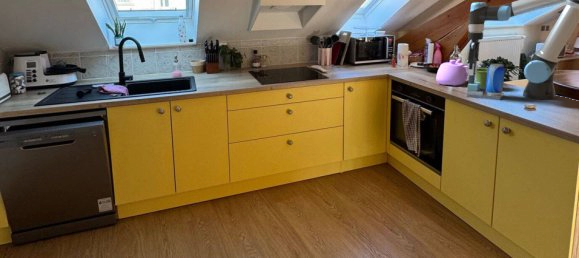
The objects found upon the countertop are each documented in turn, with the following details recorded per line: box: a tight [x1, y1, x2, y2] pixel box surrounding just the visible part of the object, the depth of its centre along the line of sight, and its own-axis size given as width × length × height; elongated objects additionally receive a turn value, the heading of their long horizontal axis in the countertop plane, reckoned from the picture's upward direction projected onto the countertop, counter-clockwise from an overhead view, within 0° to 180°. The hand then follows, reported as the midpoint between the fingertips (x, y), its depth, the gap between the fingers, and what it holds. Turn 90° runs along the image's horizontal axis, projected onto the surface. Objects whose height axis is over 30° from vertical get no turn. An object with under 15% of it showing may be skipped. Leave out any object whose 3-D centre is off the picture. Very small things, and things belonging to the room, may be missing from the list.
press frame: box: [466, 88, 505, 101], centre depth 237 cm, size 17×11×4 cm, turn 56°
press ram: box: [466, 58, 480, 92], centre depth 238 cm, size 6×8×19 cm
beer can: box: [486, 63, 506, 95], centre depth 233 cm, size 8×8×16 cm
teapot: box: [435, 58, 469, 87], centre depth 270 cm, size 23×21×15 cm
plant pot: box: [475, 67, 489, 88], centre depth 255 cm, size 12×12×11 cm
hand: (472, 73), depth 238 cm, fingers open, 7 cm apart
